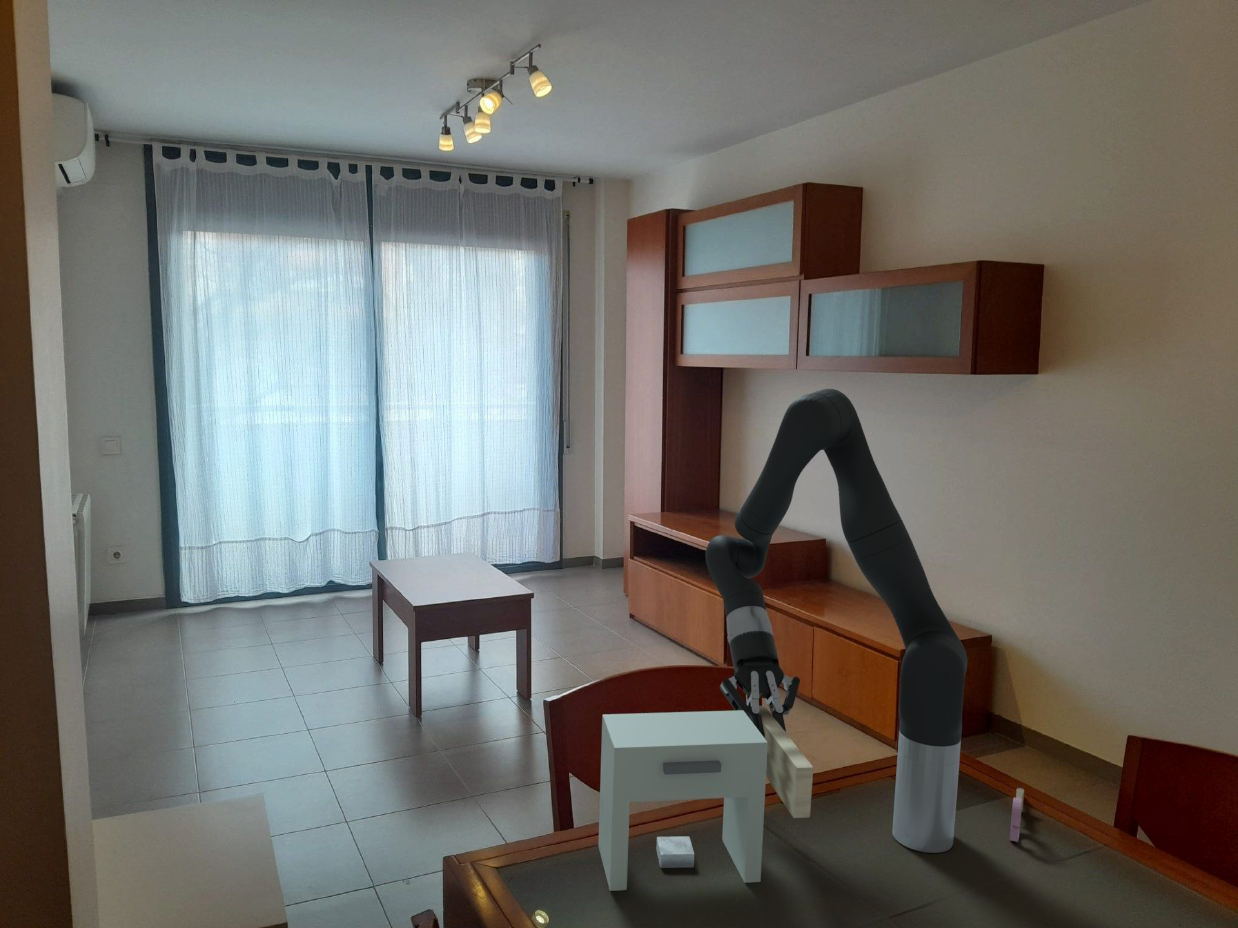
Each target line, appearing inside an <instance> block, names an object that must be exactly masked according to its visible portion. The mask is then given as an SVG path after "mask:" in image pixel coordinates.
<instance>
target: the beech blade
mask: <svg viewBox="0 0 1238 928" xmlns="http://www.w3.org/2000/svg"><path fill="white" fill-rule="evenodd" d="M759 714H761V717H762V723H763V728H764V734H765V740H766V741H767V742H768V746H767V765H766V780H768V782H769V783H770V785H771V786H772V788H773V790H774V791H775V792H776V794H777V795H778V797H779V798H780V800H781V801H782V802H783V804H784V806H785V807H786V809H787V810H788V812H789V813H790V815H791V816H792V818H793V819H802V818H803V819H804V818H810V817H811V807H812V806H811V805H812V790H813V779H814V778H813V777H814V775H813V774H814V766H813V765H812V763H811V762H810V761H809V760H808V759H807V757H806V756H805V755H804V753H802V751H801V749H800V748H799V747H797V745H796V743H795V742H794V741H793V740H792V739H791V738H790V736H789V735H788V734H787V731H786V732H785V731H784V730H783V728H782V727H781V726H780V725H779V723H778V722H777V721H776V720H775V719H774V717H773V716H772V714H771V711H770V710H768V708H767V707H766V706H765V705H759Z"/></svg>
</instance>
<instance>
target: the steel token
mask: <svg viewBox="0 0 1238 928" xmlns="http://www.w3.org/2000/svg"><path fill="white" fill-rule="evenodd" d="M692 844H693V843H692V841H691V838H690V836H656V848H655V849H656V854H657V859H659V860H658V863H659V867H660V869H664V868H665V869H666V868H667V869H669V868H675V869H676V868H679V869H680V868H682V869H683V868H695V851H694V849H693V845H692Z"/></svg>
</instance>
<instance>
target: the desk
mask: <svg viewBox="0 0 1238 928" xmlns="http://www.w3.org/2000/svg"><path fill="white" fill-rule="evenodd" d="M601 721H602V722H601V748H600V749H601V753H600V780H599V781H600V785H599V786H600V787H599V789H600V790H599V813H598V814H599V815H598V816H599V819H598V820H599V821H598V822H599V823H598V850H599V854H600V858H601V863H602V866H603V869H604V873H605V877H606V881H607V885H608V889H609V890H608V891H609V892H611V891H612V892H613V891H616V892H617V891H627V888H628V865H629V864H628V863H629V862H628V858H629V837H630V836H629V832H630V831H629V830H630V829H629V827H630V803H643V802H665V801H688V800H708V799H723V817H722V834H721V835H722V839H721V840H722V842H723V844H724V846H725V848H726V849H727V852H728V854H729V856H730V857H731V860H732V862H733V864H734V865H735V867H736V869H737V871H738V873H739V875H740V878H741V879H742V881H743V883H744V884H746V883H761V881H762V880H761V879H762V862H763V861H762V859H763V858H762V857H763V842H764V840H763V838H764V821H765V820H764V819H765V818H764V816H765V803H766V801H765V800H766V780H767V777H766V765H767V746H768V742H767V741H766V740H765V738H764V737H763V736H762V734H761V733H760V732H759V730H758V729H757V728H756V726H755V725H754V724H753V722H752V721H751V720H750V718H749V717H748V716H747V715H746V713H745V712H744V711H743V710H738V711H735V710H712V711H711V710H708V711H707V710H706V711H680V712H679V711H675V712H674V711H673V712H648V713H647V712H645V713H644V712H641V713H639V712H638V713H611V714H606V713H605V714H602V717H601Z"/></svg>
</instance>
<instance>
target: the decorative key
mask: <svg viewBox="0 0 1238 928" xmlns="http://www.w3.org/2000/svg"><path fill="white" fill-rule="evenodd" d="M1015 794H1016V795H1015V797H1013V799H1012V806H1011V807H1012V808H1011V815H1010V817H1011V818H1010V831H1009V841H1011V842H1015V843H1019V838H1020V829H1021V818H1022V813H1023V809H1024V798H1025V797H1024V796H1025V790H1024V788H1022V787H1018V788H1016V793H1015Z"/></svg>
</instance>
